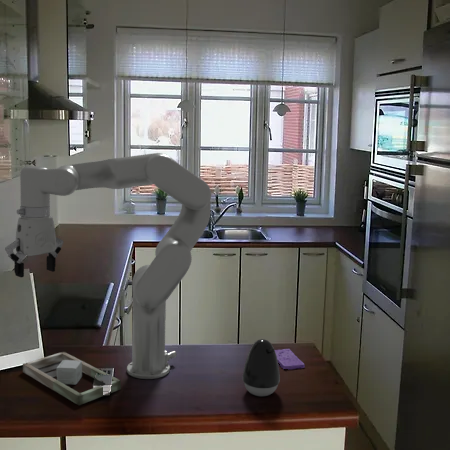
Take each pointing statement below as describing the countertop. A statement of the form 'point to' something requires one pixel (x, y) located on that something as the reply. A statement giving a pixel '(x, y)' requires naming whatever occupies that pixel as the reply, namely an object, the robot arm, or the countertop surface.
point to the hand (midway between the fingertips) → (35, 273)
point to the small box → (69, 371)
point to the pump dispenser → (261, 369)
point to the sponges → (288, 359)
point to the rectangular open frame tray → (50, 363)
